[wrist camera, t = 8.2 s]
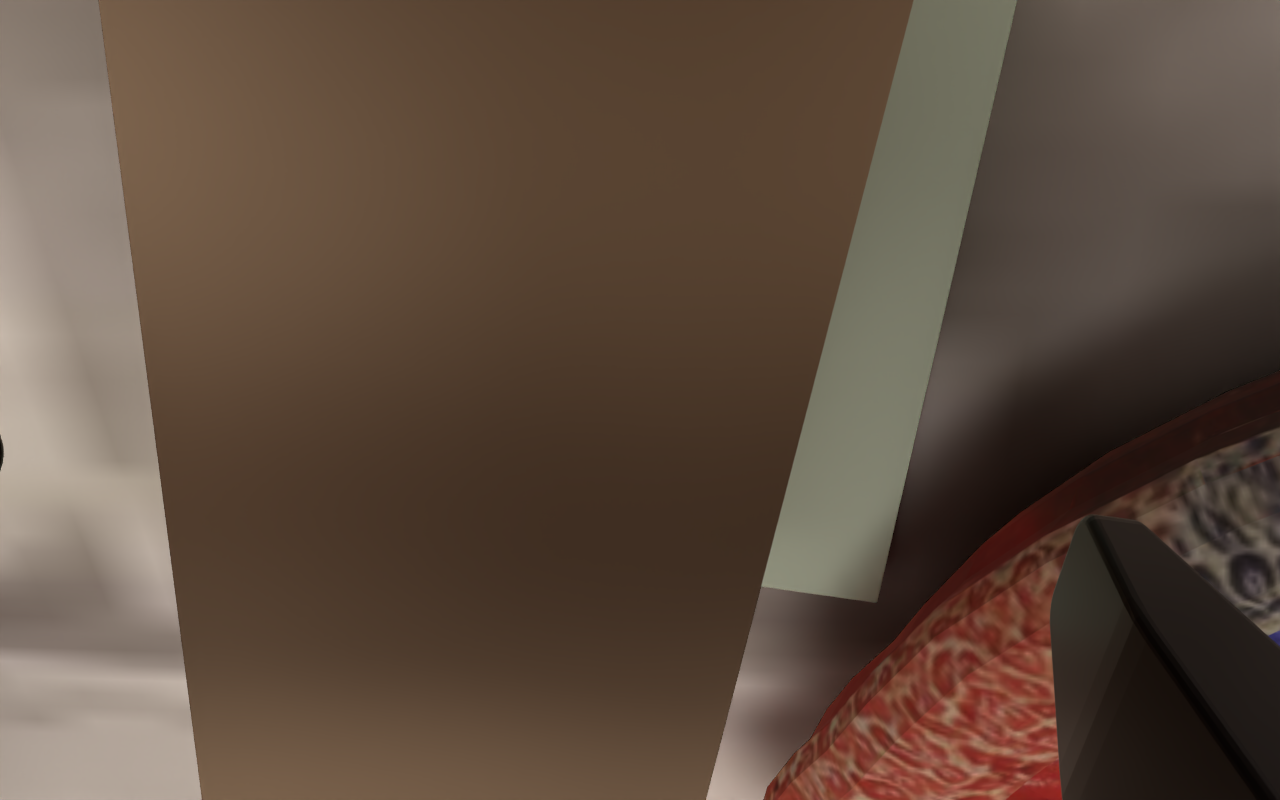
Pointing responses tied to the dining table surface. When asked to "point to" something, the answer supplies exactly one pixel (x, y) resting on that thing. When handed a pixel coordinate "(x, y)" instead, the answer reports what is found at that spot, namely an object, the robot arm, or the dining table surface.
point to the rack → (890, 304)
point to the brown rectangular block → (482, 368)
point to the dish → (1046, 616)
